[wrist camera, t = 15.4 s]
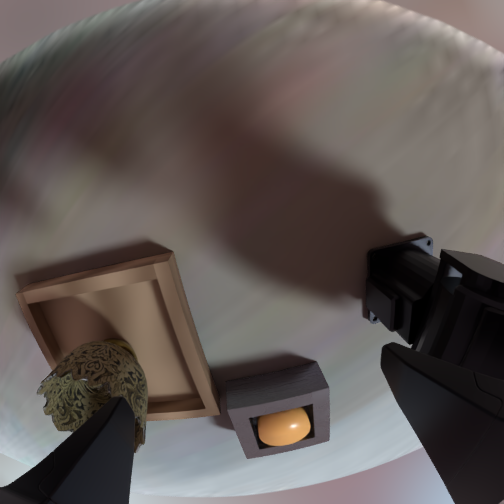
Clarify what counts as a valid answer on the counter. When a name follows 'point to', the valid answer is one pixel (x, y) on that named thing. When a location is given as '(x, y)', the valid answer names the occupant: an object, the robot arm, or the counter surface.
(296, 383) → the panel
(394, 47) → the counter surface
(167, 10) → the counter surface
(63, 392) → the ornate lamp shade
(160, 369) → the wooden tray
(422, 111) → the counter surface
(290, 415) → the button
